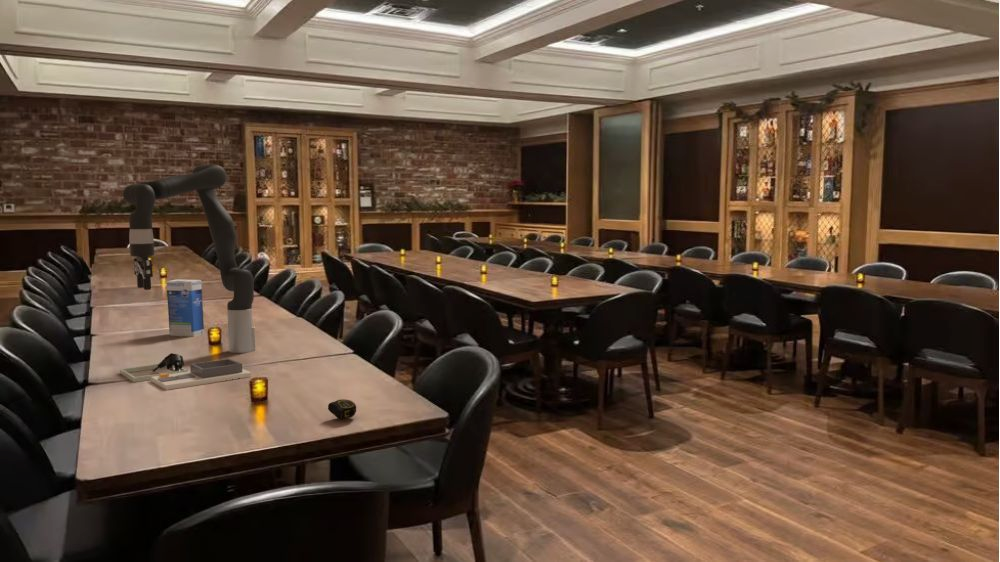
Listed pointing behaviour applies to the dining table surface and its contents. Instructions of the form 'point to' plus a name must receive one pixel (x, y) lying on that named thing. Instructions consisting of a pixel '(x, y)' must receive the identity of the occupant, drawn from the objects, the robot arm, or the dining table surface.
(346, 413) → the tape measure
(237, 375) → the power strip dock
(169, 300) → the string lights box
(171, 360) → the power plug
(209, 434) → the dining table surface
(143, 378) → the pick tray
